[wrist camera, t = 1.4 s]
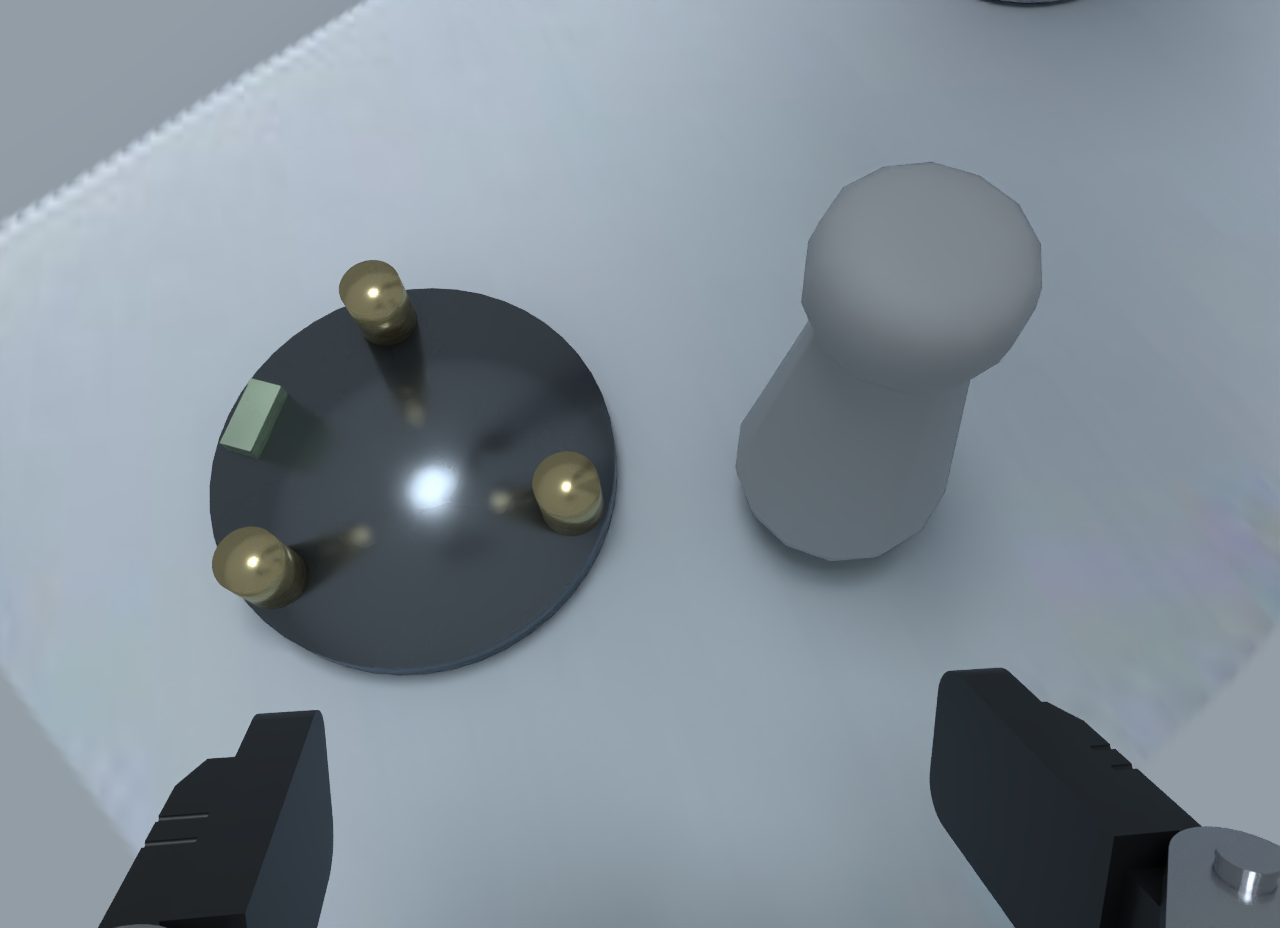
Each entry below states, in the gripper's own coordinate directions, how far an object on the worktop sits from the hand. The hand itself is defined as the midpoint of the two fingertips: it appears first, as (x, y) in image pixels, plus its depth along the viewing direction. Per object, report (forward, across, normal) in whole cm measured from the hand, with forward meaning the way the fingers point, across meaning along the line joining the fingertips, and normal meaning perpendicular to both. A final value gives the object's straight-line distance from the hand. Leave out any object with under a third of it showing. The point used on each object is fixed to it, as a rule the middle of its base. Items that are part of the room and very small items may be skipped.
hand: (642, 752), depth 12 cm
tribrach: (+18, +4, +2) cm, 19 cm away
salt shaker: (+16, -8, +2) cm, 18 cm away
